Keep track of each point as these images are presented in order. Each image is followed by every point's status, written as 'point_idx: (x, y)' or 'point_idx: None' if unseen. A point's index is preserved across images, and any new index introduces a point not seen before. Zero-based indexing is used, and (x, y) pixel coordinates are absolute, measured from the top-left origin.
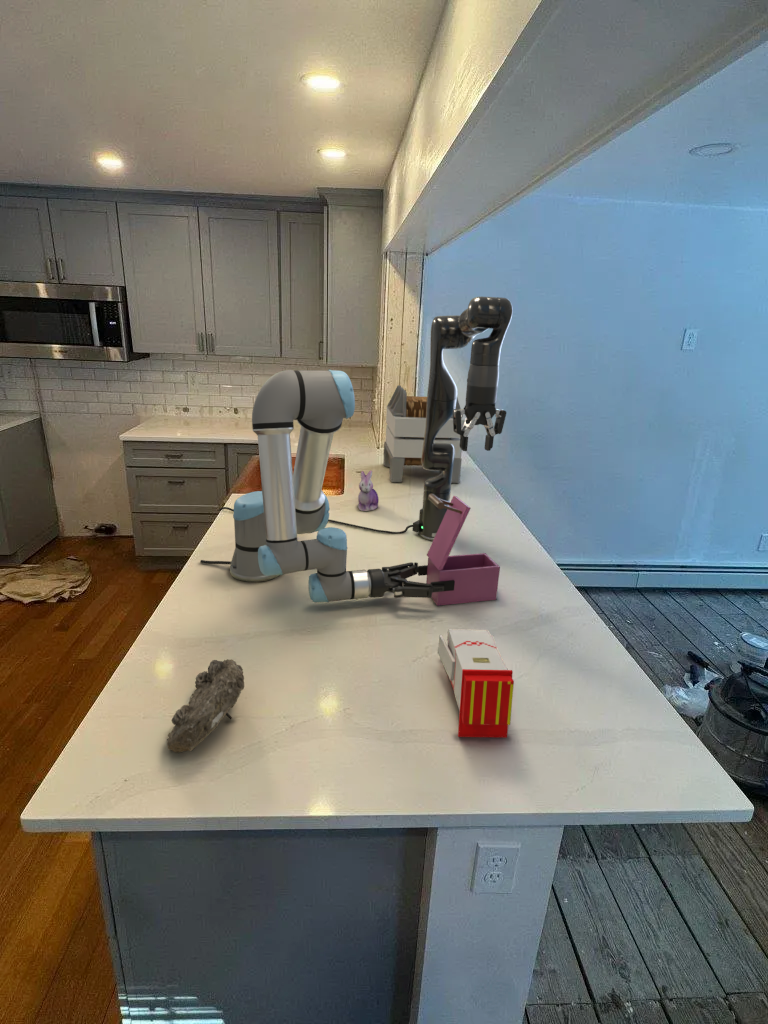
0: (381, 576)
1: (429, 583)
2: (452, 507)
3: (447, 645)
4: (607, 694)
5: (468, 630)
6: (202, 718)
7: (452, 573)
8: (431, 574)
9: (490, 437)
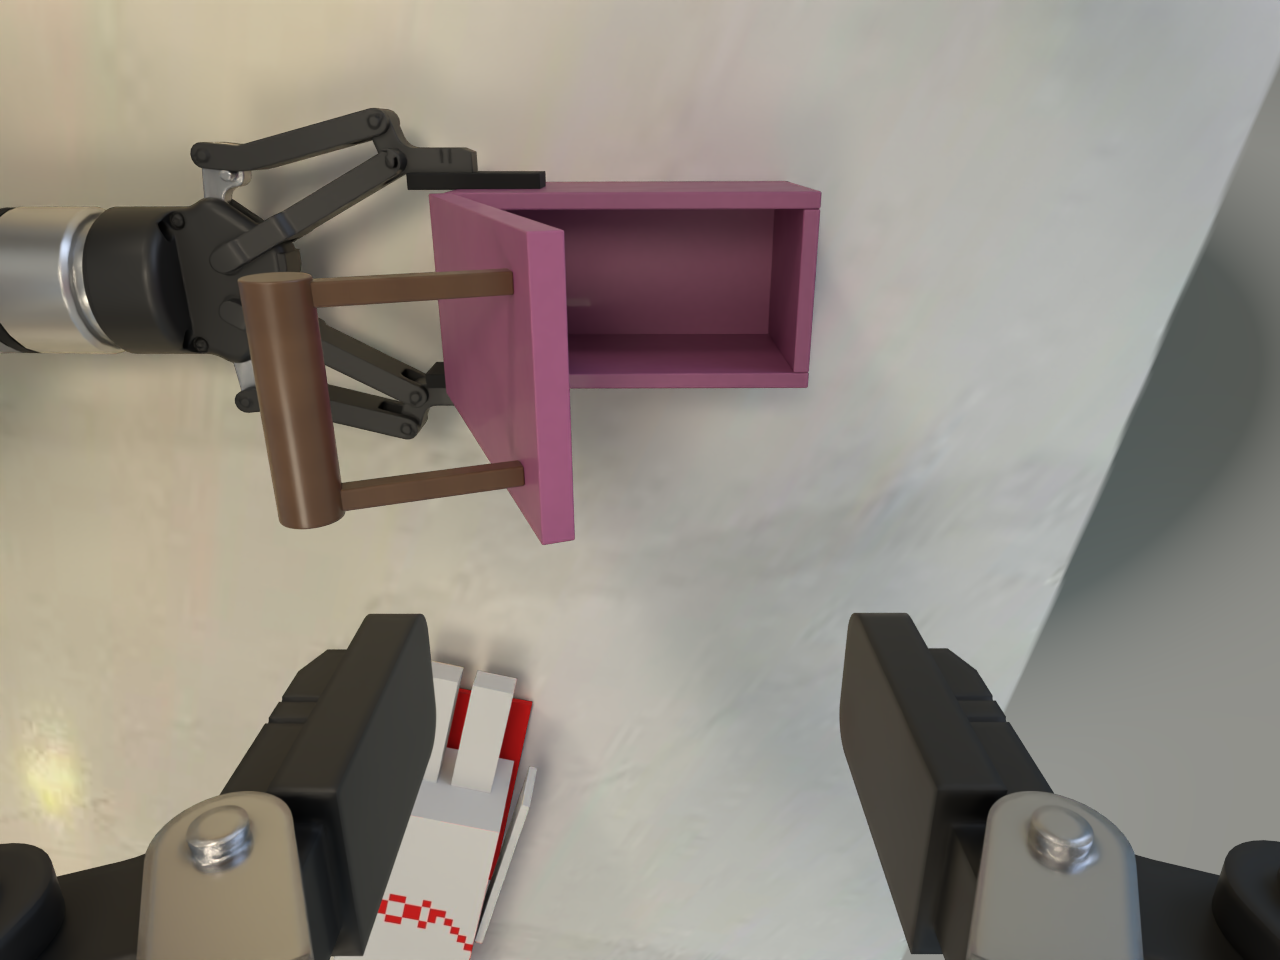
0: (156, 336)
1: None
2: (507, 301)
3: None
4: (809, 873)
5: (430, 826)
6: None
7: None
8: None
9: (930, 944)
